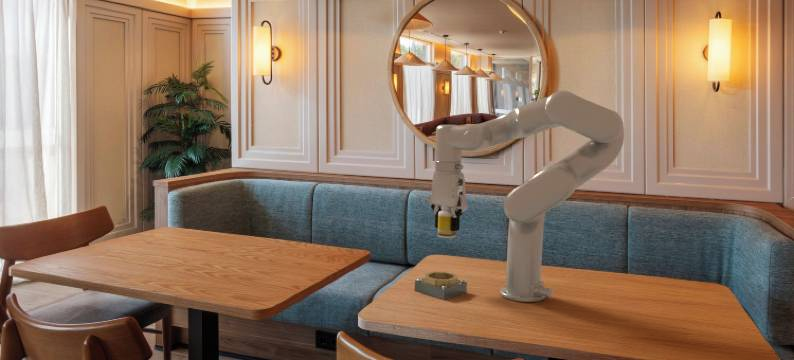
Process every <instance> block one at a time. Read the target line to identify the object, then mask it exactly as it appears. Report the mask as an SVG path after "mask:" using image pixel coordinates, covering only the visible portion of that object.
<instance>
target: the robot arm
mask: <svg viewBox="0 0 794 360" xmlns="http://www.w3.org/2000/svg"><path fill="white" fill-rule="evenodd" d="M557 127H563V128H565V129H568V130H570V131H572V132H575V133H577V134H579V135H581V136H583V137H585V138H588V139H587V141H586V142H585V143H584V144H583V145H581V146H579V147H578V148H576V149H575V150H574V151H573V152H571V153H569V154H568V155H567V156H565V157H563V158H562V159H561V160H559V161H557V162H554V163H552V164H550V165H548V166H546V167H545V168H543V169H542V170H540V171H539V172H537V173H536V174H535V175H533V176H532V177H530V178H529V179H527V180H526V181H523V183H521V184H520V185H518V186H517V187H515V188H513V189H512V190H510V192H508V193H507V195H506V196H505V198H504V202H503V210H504V214H505V216H506V217H507V218H508V219H509V221H508V232H507V233H508V234H507V250H506V251H507V254H506V255H507V256H506V271H505V272H506V273H505V275H506V277H505V286H502V287H501V288H500V290H499V294H500V295H501V296H502V297H503V298H505V299H507V300H510V301H516V302H522V303H532V302H533V303H534V302H541V301H542V300H544V299H546V298H551V296H552V295H553V288H551V287H546V286H545V281H544V280H543V281H542V280H541V279H542V278H541V277H542V262H543V261H542V260H543V259H542V257H543V244H544V243H543V242H544V228H545V227H544V225H545V218H546V213H547V212H549V211H550V210H552V209H553V208H555V207H557V206H558V205H560V204H561V203H563V202H564V201H566V200H567V199H569V197H571V196H572V194H573V193H574V192H575V191H576V190H577V189H578V188H579V187H581V186H582V185H584V184H585V183H588V181H590V180H591V179H593V178H595V176H597V175H598V174H600V173H601V172H602V171H604V170H605V169H607V168H608V167H609V166H611V164H612V163H614V161H616V159H617V158H618V156H619V154H620V153H621V150H622V148H623V145H624V141H625V128H624V121H623V118H622V116H621V115H620V114H619V113H618V112H617V111H616V110H612V109H611V108H608V107H604V106H602V105H600V104H597V103H595V102H593V101H590V100H588V99H585V98H583V97H582V96H579V95H577V94H575V93H573V92H571V91H568V90H559V91H555V92H553V93H551V95H549V96H546V97H543V98H541V99H538V100H535V101H532V102H529V103H526V104H523V105H520V106H517V107H515V108H514V109H512V110H511V111H509V112H508V113H506V114H504V115H502V116H499V117H497V118H494V119H490V120H488V121H485V122H482V123H476V124H468V125H457V124H440V125H438V126H437V127H436V128H435V163H434V165H435V167H434V168H435V169H434V172H433V177H432V182H431V191H430V192H431V193H430V194H431V195H430V197H429V198H428V199H427V203H428V205H429V206H430V208H431V210H432V211H433V215H434V227H435V229H438V213H439V211H441V210H442V209H441V206H442V205H443V206H446V207H451V212H452V216H453V217H451V231H456V232H457V231H459V230H460V226H461V225H460V224H461V223H460V222H461V221H460V220H461V219H460V218H461V217H462V215H463V214H464V213H465V211H467V209H468V208H469V204H468V203H467V197H466V196H467V193H466V191H467V190H466V189H467V188H466V181H465V180H466V179H465V176H464V175H465V174H464V172H462V170H463V169H464V164H462V158H463V157H462V155H463V153H462V151H467V152H477V151H478V152H479V151H481V150H482V151H483V150H485V149H489V148H491V147H494V146H497V145H498V146H499V145H501V144H504V143H507V142H510V141H513V140H516V139H524V138H526V137H529V136H533V135H536V134H539V133H541V132H545V131H548V130H551V129H555V128H557Z"/></svg>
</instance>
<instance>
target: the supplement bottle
mask: <svg viewBox="0 0 794 360" xmlns="http://www.w3.org/2000/svg"><path fill="white" fill-rule="evenodd" d="M441 209H442V210H441V211H439V213H438V228H437V237H438V238H440V239H454V238H456V237H457V231H451V217H453V216H452V212H451V207H446V206H443V205H442V206H441Z"/></svg>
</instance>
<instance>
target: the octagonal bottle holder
mask: <svg viewBox="0 0 794 360" xmlns="http://www.w3.org/2000/svg"><path fill="white" fill-rule="evenodd" d="M467 289H468V282H467V281H465V280H464V279H463V280H462V279H461V280H460V279H458V276H457V273H456V274H455V273H452V272H449V271H430V272H427V273H425V274H424V277H422V278H416V280H414V291H415V292H418V293H421V294H425V295H427V296H431V297H435V298H438V299H441V300H443V301H444V300H449V299H451V298H454V297H457V296H461V295H463V294H466V293H468V292H467V291H468V290H467Z"/></svg>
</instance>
